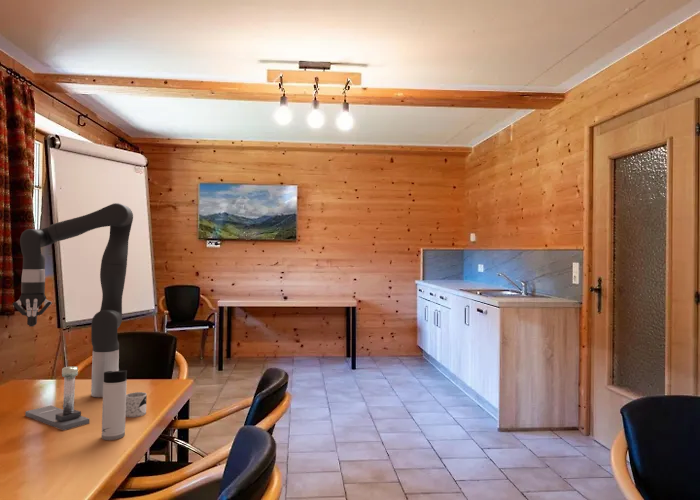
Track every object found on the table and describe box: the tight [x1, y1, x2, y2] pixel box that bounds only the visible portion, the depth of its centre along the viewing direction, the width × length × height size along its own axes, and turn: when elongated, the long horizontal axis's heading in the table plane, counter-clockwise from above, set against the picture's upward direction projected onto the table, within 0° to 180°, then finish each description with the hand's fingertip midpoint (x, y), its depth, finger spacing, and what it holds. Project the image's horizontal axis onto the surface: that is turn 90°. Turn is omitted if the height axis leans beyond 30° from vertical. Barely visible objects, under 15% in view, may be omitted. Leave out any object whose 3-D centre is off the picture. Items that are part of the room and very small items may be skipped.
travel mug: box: [101, 369, 128, 441], centre depth 140 cm, size 6×7×20 cm
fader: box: [55, 365, 82, 422], centre depth 150 cm, size 4×6×16 cm
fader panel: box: [24, 405, 90, 431], centre depth 154 cm, size 24×8×2 cm, turn 59°
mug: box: [125, 391, 148, 418], centre depth 162 cm, size 10×7×7 cm
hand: (32, 326), depth 179 cm, fingers closed
